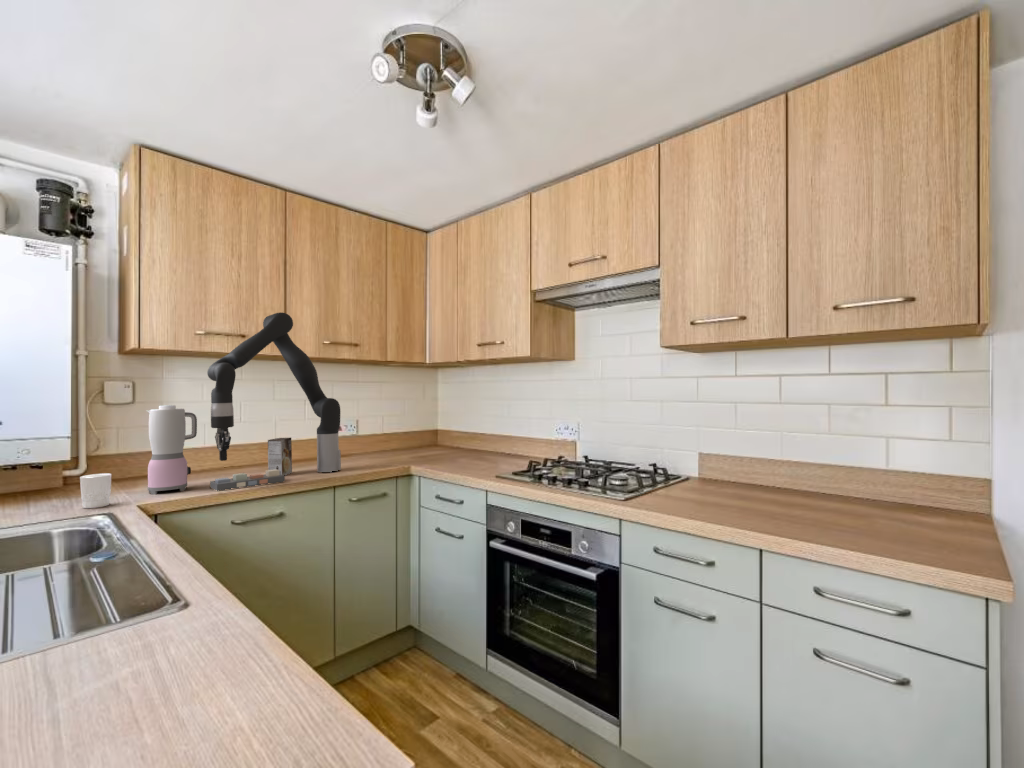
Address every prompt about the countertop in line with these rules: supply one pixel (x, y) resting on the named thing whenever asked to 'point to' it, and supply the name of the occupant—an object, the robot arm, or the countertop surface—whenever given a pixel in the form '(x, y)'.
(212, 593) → the countertop surface
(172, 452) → the blender
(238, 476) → the sage key
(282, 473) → the coffee box
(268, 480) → the keypad
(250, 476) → the terracotta key
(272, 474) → the sand key
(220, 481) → the slate key
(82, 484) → the white cup
